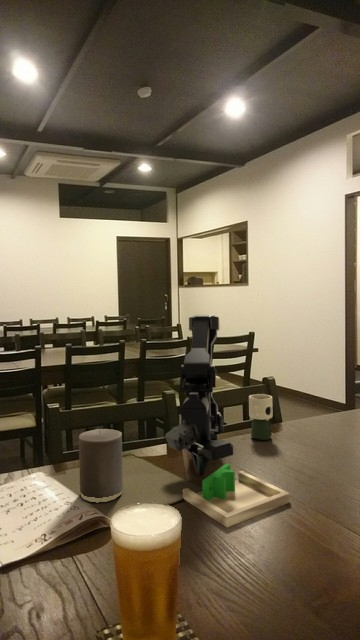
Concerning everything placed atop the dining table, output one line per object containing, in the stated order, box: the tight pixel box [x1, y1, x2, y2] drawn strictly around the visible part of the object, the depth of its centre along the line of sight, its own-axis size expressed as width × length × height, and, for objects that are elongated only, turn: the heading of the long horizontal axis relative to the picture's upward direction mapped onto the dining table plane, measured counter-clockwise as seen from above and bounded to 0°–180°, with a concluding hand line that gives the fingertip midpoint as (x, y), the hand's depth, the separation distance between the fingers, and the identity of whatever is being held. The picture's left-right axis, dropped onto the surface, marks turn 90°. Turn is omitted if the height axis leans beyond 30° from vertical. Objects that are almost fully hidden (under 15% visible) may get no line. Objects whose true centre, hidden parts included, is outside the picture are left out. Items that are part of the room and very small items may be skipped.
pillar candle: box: [78, 428, 124, 498], centre depth 101 cm, size 10×10×15 cm
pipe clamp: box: [201, 463, 236, 501], centre depth 99 cm, size 11×4×5 cm, turn 147°
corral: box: [182, 470, 291, 528], centre depth 96 cm, size 15×17×2 cm
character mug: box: [248, 393, 274, 441], centre depth 136 cm, size 11×7×13 cm, turn 153°
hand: (200, 475), depth 107 cm, fingers closed
